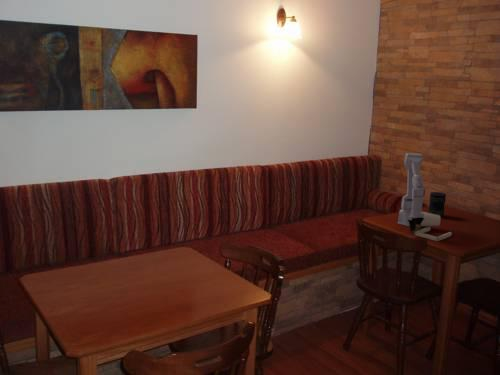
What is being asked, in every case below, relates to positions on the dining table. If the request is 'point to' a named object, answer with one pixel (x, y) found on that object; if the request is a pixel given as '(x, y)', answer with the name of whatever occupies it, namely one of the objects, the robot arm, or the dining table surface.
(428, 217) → the foam cup
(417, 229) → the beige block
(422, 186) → the robot arm
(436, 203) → the green-striped black cylinder
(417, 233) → the bay
